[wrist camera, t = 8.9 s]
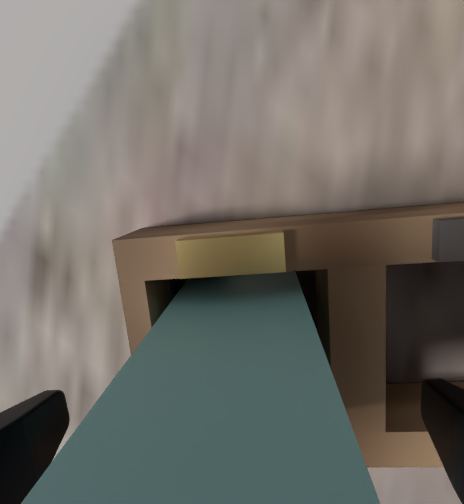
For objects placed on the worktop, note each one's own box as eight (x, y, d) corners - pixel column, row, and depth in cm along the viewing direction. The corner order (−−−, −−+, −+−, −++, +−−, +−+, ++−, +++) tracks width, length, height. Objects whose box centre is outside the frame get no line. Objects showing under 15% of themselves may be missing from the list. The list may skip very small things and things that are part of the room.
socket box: (556, 194, 11) (659, 199, 8) (533, 410, 12) (612, 478, 10) (141, 228, 12) (105, 242, 9) (169, 417, 14) (146, 478, 11)
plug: (294, 271, 12) (380, 505, 3) (301, 370, 13) (383, 764, 4) (188, 278, 13) (18, 505, 4) (200, 374, 13) (84, 741, 5)
